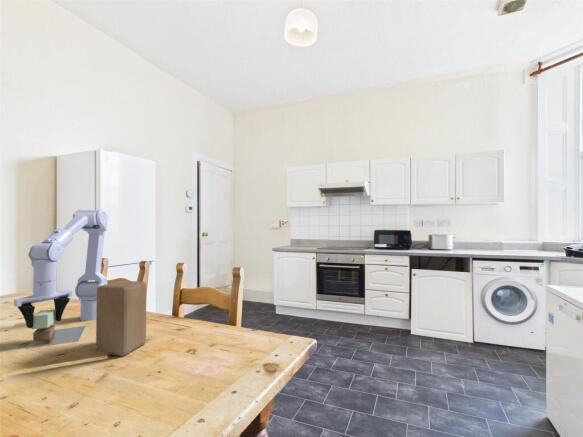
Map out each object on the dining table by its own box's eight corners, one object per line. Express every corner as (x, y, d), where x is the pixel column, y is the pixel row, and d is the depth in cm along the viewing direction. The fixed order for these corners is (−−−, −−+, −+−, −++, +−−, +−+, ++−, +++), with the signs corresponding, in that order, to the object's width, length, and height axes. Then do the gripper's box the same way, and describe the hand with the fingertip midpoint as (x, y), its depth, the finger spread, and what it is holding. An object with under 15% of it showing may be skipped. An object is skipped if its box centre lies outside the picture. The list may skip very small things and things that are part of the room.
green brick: (56, 321, 97) (56, 309, 97) (47, 327, 91) (47, 314, 91) (41, 322, 96) (41, 310, 96) (31, 329, 90) (31, 316, 90)
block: (123, 357, 85) (124, 287, 85) (94, 354, 87) (95, 286, 87) (147, 343, 95) (147, 281, 95) (120, 341, 97) (121, 280, 97)
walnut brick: (54, 337, 97) (54, 324, 97) (49, 343, 92) (49, 330, 92) (38, 339, 95) (39, 326, 95) (33, 346, 90) (33, 332, 90)
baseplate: (86, 328, 108) (86, 325, 108) (78, 344, 94) (78, 340, 94) (40, 335, 102) (40, 331, 102) (24, 352, 88) (24, 348, 88)
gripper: (64, 276, 102) (63, 315, 102) (9, 283, 89) (8, 329, 89) (75, 278, 99) (75, 318, 99) (20, 285, 86) (19, 332, 86)
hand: (44, 323), depth 94 cm, fingers closed on green brick, 7 cm apart
